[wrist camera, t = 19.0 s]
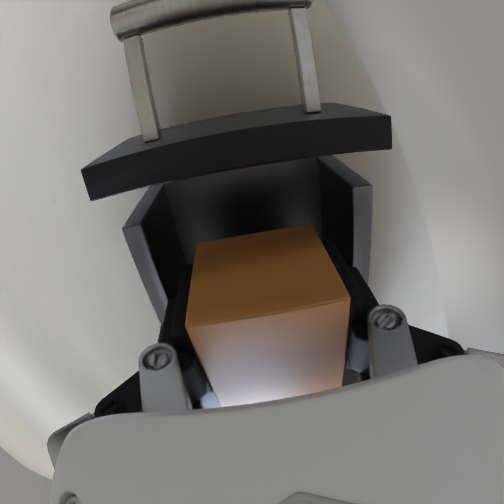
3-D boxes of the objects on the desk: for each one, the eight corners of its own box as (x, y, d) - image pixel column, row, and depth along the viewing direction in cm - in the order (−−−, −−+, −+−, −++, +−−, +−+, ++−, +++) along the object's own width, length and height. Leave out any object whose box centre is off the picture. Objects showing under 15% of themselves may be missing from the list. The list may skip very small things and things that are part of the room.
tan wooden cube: (195, 242, 12) (183, 326, 8) (311, 222, 12) (351, 297, 8) (220, 325, 14) (221, 408, 10) (315, 309, 14) (342, 387, 10)
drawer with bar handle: (107, 34, 11) (48, 16, 6) (318, -3, 11) (367, -40, 6) (189, 324, 20) (182, 395, 15) (341, 298, 20) (370, 363, 15)
